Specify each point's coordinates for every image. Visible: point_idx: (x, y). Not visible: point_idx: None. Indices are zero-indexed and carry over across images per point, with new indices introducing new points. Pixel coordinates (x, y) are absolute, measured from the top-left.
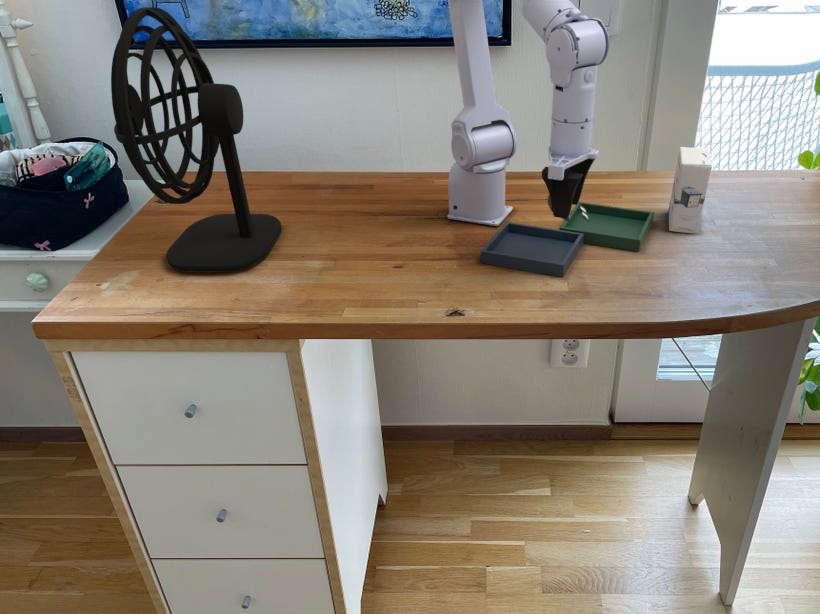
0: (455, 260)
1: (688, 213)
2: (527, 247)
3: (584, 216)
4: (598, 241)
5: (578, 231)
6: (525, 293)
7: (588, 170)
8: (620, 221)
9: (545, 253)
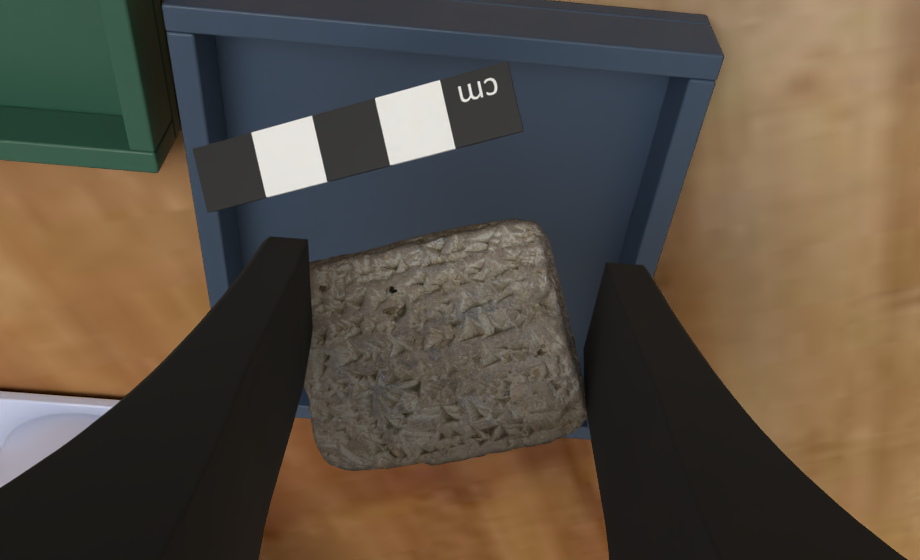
0: (590, 462)
1: None
2: None
3: (479, 128)
4: None
5: (136, 47)
6: (914, 171)
7: (88, 459)
8: None
9: (446, 169)
